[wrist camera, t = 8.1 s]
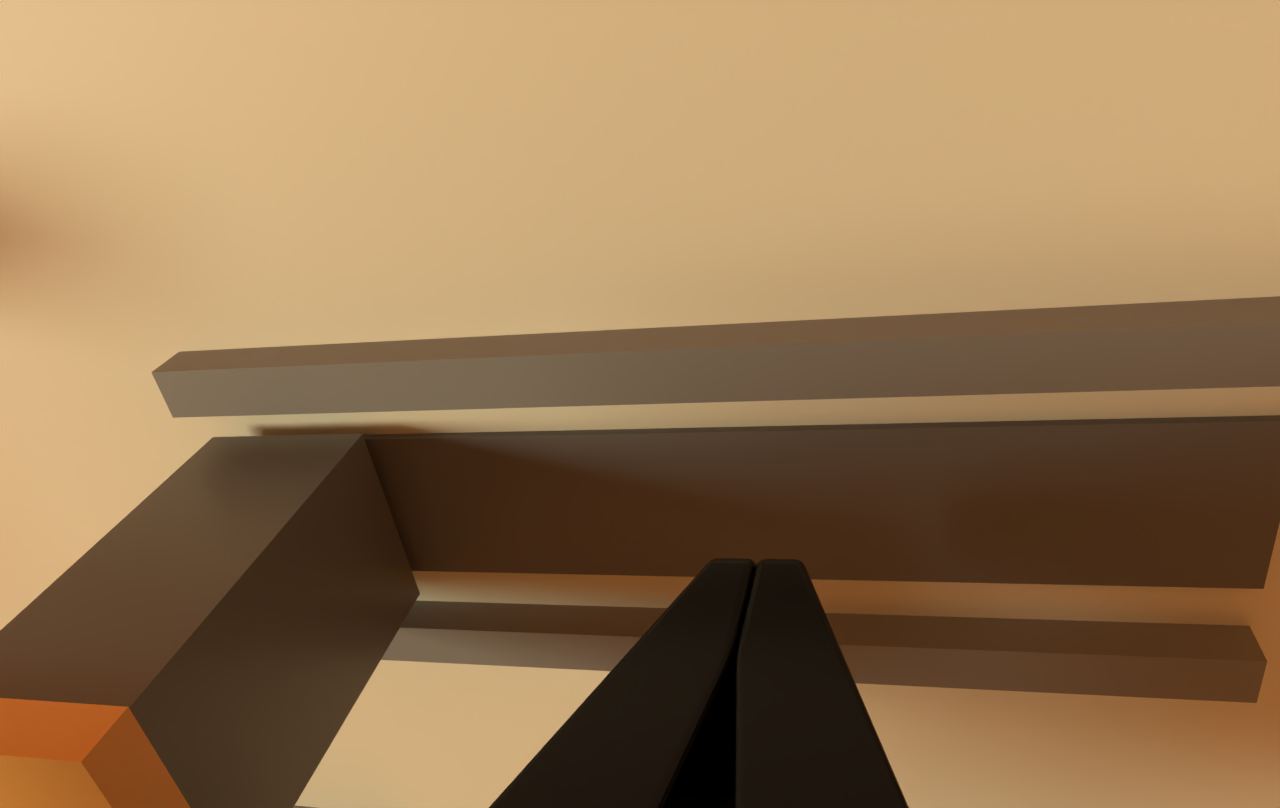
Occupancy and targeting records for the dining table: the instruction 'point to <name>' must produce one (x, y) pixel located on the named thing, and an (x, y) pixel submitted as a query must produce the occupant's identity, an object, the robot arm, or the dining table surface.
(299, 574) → the slider
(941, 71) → the console
